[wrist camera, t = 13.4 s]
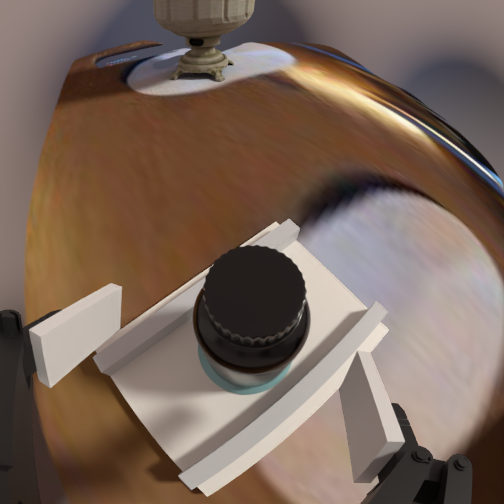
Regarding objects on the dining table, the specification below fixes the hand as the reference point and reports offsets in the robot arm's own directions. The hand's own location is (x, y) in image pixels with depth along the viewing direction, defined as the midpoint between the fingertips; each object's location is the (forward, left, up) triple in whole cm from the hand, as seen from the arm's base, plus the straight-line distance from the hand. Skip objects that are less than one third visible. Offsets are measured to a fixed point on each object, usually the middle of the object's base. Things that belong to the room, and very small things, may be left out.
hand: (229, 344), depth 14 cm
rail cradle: (-2, -1, -10) cm, 11 cm away
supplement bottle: (-2, -1, -9) cm, 9 cm away
